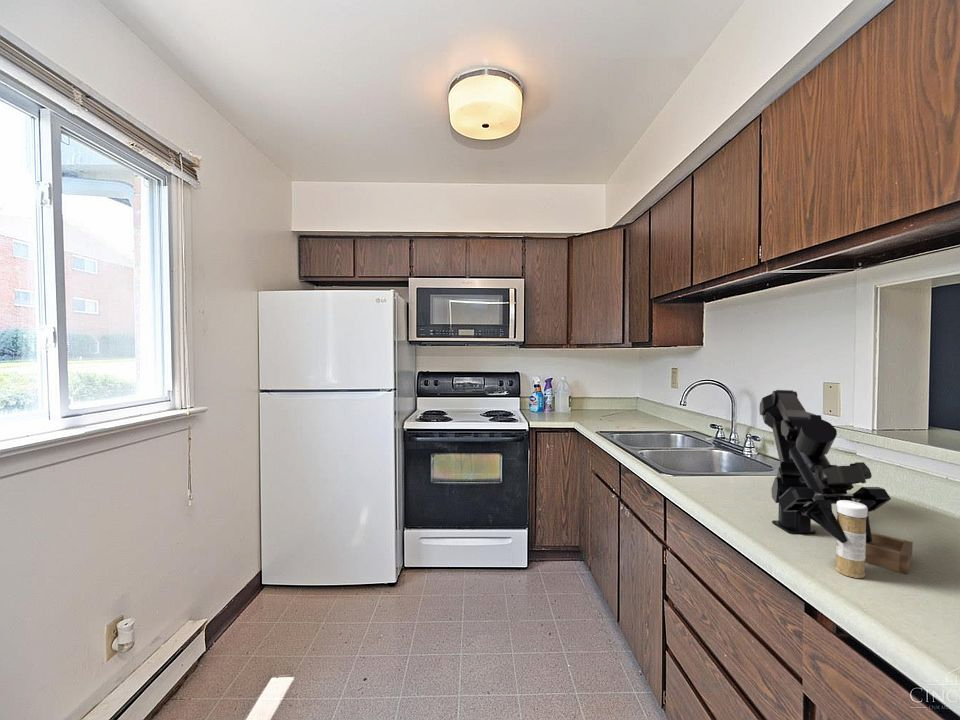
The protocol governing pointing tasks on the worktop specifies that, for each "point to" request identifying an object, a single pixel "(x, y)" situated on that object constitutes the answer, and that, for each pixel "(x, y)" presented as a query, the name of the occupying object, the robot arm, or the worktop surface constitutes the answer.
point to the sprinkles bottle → (851, 538)
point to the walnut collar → (889, 553)
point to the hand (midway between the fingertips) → (857, 542)
